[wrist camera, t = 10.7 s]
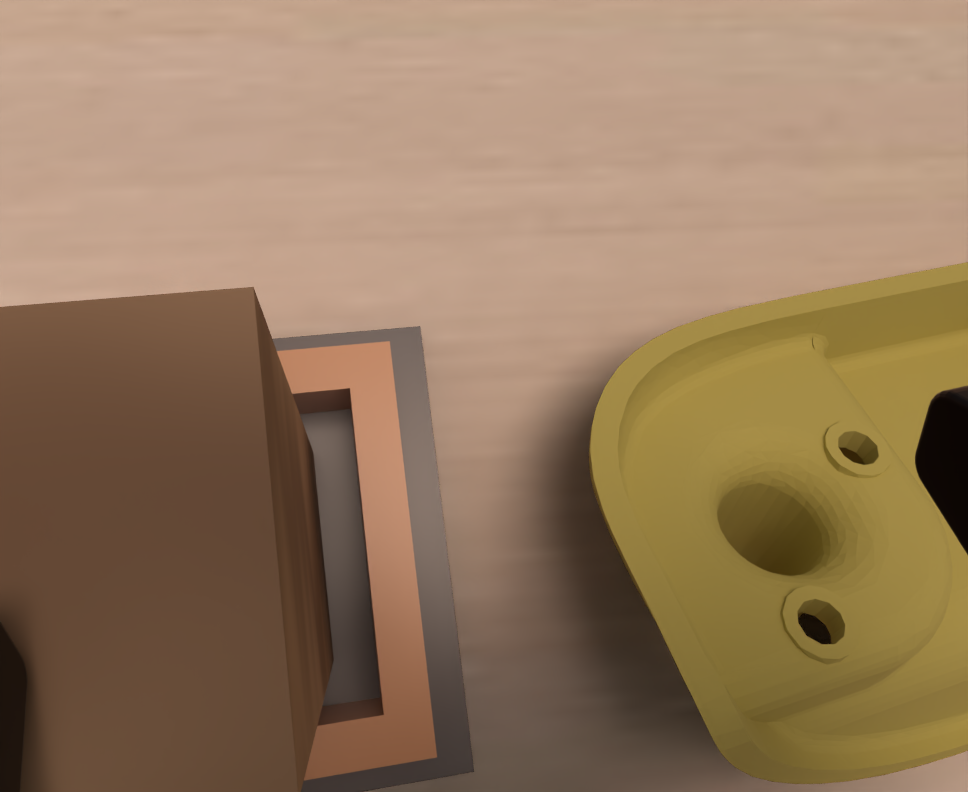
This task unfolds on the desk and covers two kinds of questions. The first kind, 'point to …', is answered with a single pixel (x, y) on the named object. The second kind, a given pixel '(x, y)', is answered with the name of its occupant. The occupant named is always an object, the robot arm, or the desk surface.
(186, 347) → the walnut post
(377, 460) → the socket board
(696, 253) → the desk surface
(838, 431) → the plastic component
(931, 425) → the robot arm
